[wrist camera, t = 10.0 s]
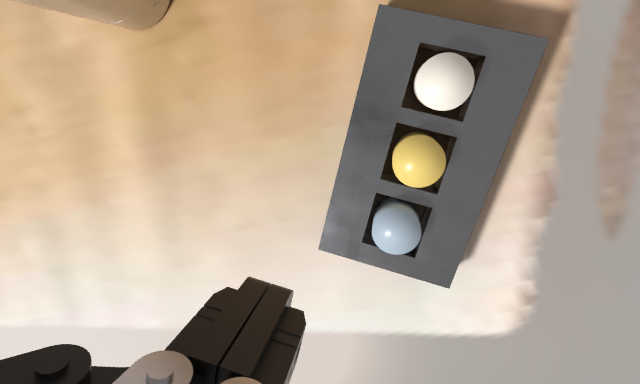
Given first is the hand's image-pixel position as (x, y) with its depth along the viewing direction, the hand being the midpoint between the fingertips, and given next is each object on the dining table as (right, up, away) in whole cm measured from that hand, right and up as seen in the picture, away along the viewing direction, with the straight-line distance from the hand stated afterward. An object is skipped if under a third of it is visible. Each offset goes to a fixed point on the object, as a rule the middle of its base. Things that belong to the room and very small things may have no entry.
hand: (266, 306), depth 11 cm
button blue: (+10, +1, +26) cm, 28 cm away
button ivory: (+13, +14, +21) cm, 29 cm away
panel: (+11, +8, +24) cm, 28 cm away
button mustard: (+11, +7, +23) cm, 27 cm away
